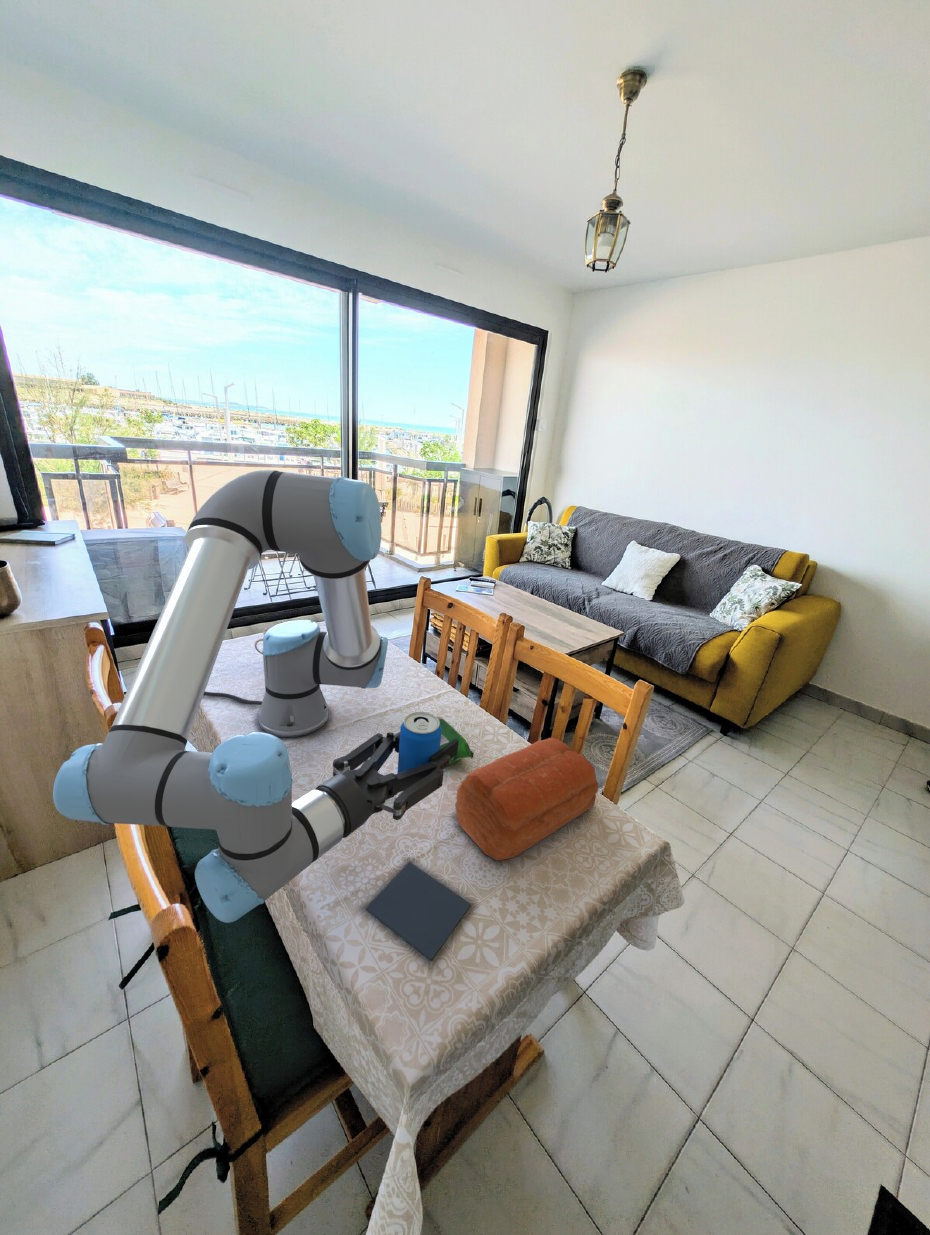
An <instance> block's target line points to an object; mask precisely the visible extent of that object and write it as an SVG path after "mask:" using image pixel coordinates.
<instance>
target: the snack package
mask: <svg viewBox="0 0 930 1235" xmlns="http://www.w3.org/2000/svg"><path fill="white" fill-rule="evenodd" d="M436 717H437V718H438V719H439V722H440V725H441V728H442V732H441V742H440V749H441V748H443V747H444V746H446V745H447V744H448V743H450V742H451V741H452V740H454V739H457V740H459V743H458V751H457V755H455V756H454V757H453V758H451V759H450V763H449V765H452V764H454V763H455V762H457V761H459V760H461V759H467V758H471V759H473V758H474V754H475V752H474V751H472V750H471V748H470V746H469V743H468V742H467V740H466V739H465V737H464V736H462V735H461V734H460V733H459V731H457V730H456V729H455V728H454V727H453V726H452V725H451V724H450V723H449V722H448V721H447V720H446V719H444V718H443V717H441V716H436Z"/></svg>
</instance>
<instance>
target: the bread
mask: <svg viewBox="0 0 930 1235" xmlns="http://www.w3.org/2000/svg"><path fill="white" fill-rule="evenodd" d="M597 793H599V782H598V780H597V774H596V770H595V766H594V765H593V764H592V763H591V762H589V760H588V759H587V758H586V757H585V756H584V755H582V754H580V753H577V752H576V751H573V750H572V749H571V748H570V746H568V745H567V744H566V743H564V742H563V741H562V740H560V739H558V738H555V737H548V738H545V739H541V740H537V741H535V742H533V743H531V744H530V745H528V746H526V747H523V748H521V749H519V750H517V751H515V752H511V753H509V754H506V755H504V756H502V757H499V758H497V759H496V760H494V761H492V762H491V763H489V764H488V763H487V764H486V765H482V766H481V767H478V768H476V769H473V771H471V772H469V773H468V774H467V775H466V777H465V779H464V780H462V781H460V784H459V786H458V788H457V790H456V801H455V804H454V807H455V812H456V818H457V823H458V824H457V825H459V826H460V827H461V829H462V830H463V831H464V832H465V833H466V834H467V835H468V836H469V837H470V839H471V840H472V841H473V842H474V843H475V844H476V845H477V847H478V848H480V850H482V852H483V853H484V855H486V856H488V857H490V858H492V859H494V860H496V861H497V862H498V861H503V860H508V859H512V858H515V857H517V856H519V855H520V854H522V853H523V852H525V851H526V850H528V849H530V848H531V847H533V846H535V845H536V844H538V843H539V842H541V841H542V840H544V839H545V838H547V837H548V836H550V835H552V834H553V833H555V832H557V831H559V829H561V828H563V827H564V826H565V825H567V824H568V823H570V822H572V821H573V820H575V819H577V817H580V816H581V815H583V814H584V813H585V812H587V811H588V810H589V809H591V808H592V807H593V806H594V804H595V802H596V799H597V798H596V797H597V796H596V795H597Z"/></svg>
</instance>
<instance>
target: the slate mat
mask: <svg viewBox="0 0 930 1235" xmlns="http://www.w3.org/2000/svg"><path fill="white" fill-rule="evenodd" d="M471 905H472V904H471V902H469V901H468V900H466V899H464V898H463V897H462V896H460V895H459V894H457V893H456V892H454V891H453V890H451V889H450V888H448V887H447V886H446V885H444V884H443V883H441V882H439V881H438V880H437V879H435V878H434V877H432V876H431V875H430V874H428V873H426V872H425V871H423V870H422V869H421V868H419V867H417V865H415V864H413V863H411V862H410V861H409V862H408V863H406V865H405V866H404V867H403V868H402V869H401V870H400V871H399V872H398V873H397V874H396V875H395V876H394V877H393V878H392V879H391V881H390V882H389V883H388V884H387V885H386V886H385V887H384V888H383V889H382V890H381V891H380V892H379V893H378V894H377V895H376V896H375V897H374V898H373V899H372V900H371V902H370V903H368V905H367V906H366V907H365V911H366V912H368V913H369V914H370V915H372V916H373V917H374V918H376V919H377V920H378V921H379V922H380V923H382V924H383V925H385V926H386V927H387V928H388V929H389V930H391V931H392V932H393V933H395V934H396V935H397V936H398V937H399V938H401V939H402V940H404V941H405V942H406V943H407V944H408V945H410V946H411V947H413V949H415V950H416V951H418V952H419V954H421V955H423V957H425V958H426V959H428V960H429V961H430V962H433V960H434V958H435V957H436V956H437V954H438V953H439V951H440V950H441V948H442V947H443V945H444V944H446V941H447V940H448V938H449V937H450V936H451V935H452V933H453V932H454V930H455V929H456V927H457V926H458V924H459V923H460V921H461V920H462V919H463V918H464V916H465V915H466V914H467V912H468V911H469V909H470V908H471V907H472V906H471Z"/></svg>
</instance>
